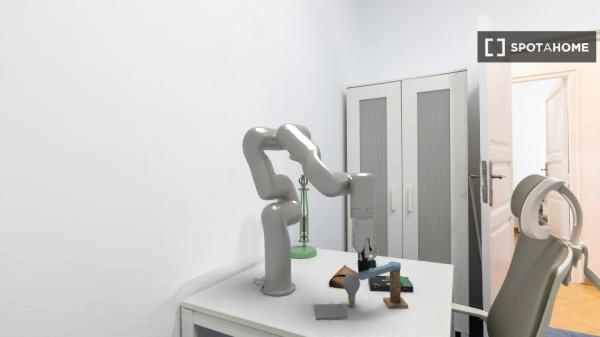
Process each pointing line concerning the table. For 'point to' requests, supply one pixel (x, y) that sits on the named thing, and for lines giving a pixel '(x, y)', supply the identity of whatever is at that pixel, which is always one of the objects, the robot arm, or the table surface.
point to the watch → (371, 260)
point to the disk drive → (384, 284)
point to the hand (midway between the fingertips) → (363, 272)
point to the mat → (329, 311)
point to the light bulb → (351, 287)
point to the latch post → (395, 292)
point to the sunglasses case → (340, 277)
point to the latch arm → (378, 270)
